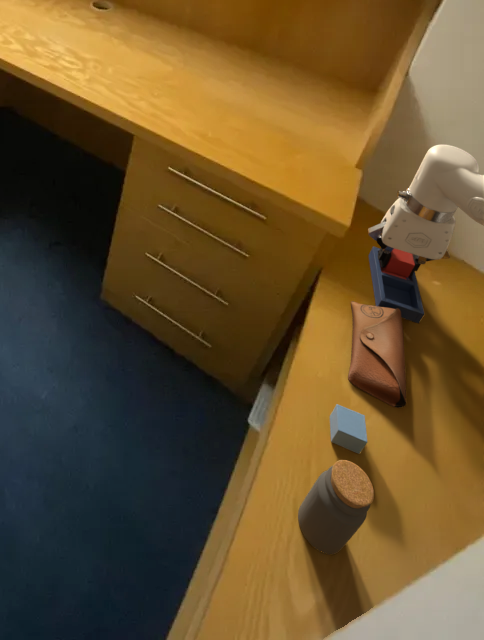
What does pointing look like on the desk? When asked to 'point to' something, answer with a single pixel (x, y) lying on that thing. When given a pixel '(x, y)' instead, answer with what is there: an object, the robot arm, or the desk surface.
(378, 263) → the tray
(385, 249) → the robot arm
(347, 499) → the bottle
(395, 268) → the red block
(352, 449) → the blue block
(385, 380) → the sunglasses case
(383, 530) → the desk surface
